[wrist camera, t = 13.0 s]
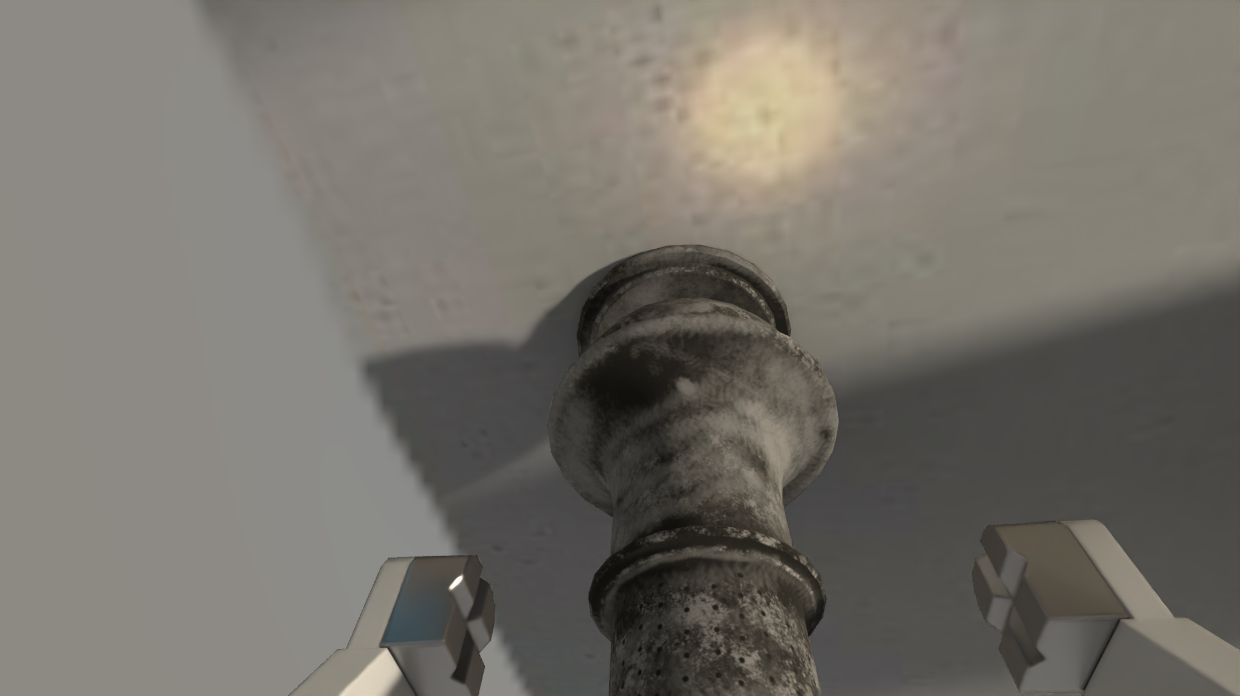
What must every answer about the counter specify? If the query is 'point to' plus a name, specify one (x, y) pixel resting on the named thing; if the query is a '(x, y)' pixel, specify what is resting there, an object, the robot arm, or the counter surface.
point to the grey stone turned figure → (697, 474)
